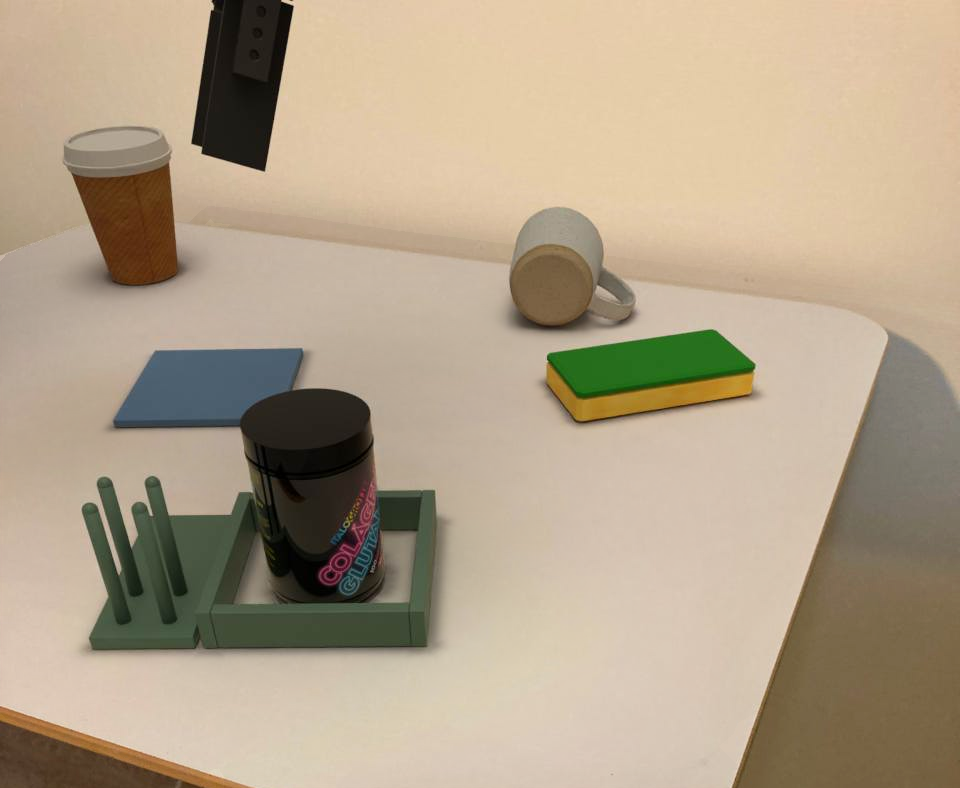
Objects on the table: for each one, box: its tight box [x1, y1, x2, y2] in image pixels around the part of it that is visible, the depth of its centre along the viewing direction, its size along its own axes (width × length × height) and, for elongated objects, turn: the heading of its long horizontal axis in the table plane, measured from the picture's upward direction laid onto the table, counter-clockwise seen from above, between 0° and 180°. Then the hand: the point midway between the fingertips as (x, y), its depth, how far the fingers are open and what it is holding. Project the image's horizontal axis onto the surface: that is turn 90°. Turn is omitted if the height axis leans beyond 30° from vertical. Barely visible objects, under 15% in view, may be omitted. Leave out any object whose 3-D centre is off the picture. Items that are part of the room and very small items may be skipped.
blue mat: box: [112, 347, 304, 428], centre depth 79 cm, size 12×12×1 cm
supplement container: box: [239, 387, 386, 604], centre depth 57 cm, size 7×7×10 cm
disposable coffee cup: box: [61, 125, 179, 286], centre depth 95 cm, size 10×10×12 cm
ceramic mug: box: [508, 206, 637, 327], centre depth 87 cm, size 11×8×8 cm
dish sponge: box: [545, 328, 757, 422], centre depth 77 cm, size 7×14×2 cm, turn 106°
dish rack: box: [81, 475, 438, 650], centre depth 57 cm, size 18×12×8 cm, turn 89°
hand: (223, 157), depth 51 cm, fingers open, 13 cm apart
